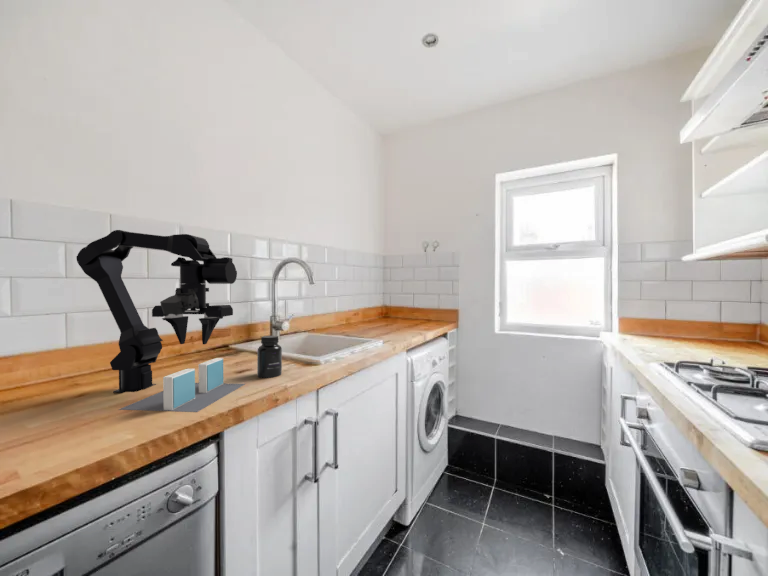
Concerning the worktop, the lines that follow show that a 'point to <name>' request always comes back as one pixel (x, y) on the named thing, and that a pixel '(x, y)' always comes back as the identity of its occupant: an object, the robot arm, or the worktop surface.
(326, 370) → the worktop surface
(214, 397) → the mat
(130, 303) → the robot arm
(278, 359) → the supplement bottle
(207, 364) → the tile far
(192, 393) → the tile near
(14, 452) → the worktop surface
